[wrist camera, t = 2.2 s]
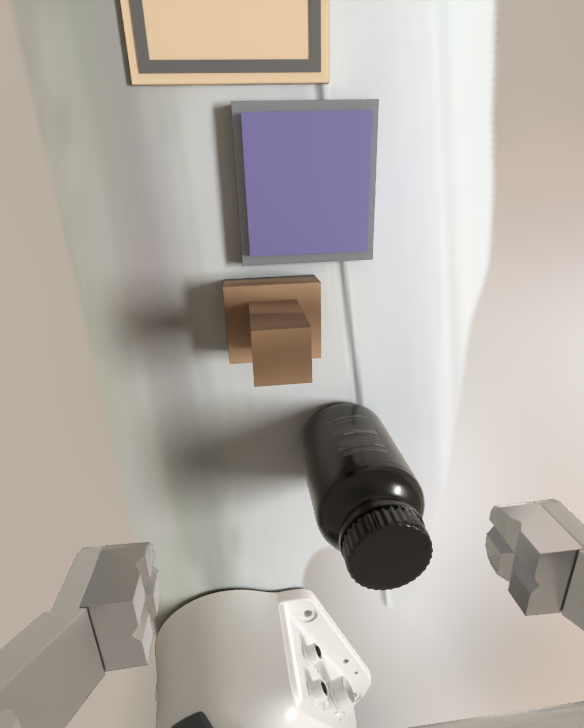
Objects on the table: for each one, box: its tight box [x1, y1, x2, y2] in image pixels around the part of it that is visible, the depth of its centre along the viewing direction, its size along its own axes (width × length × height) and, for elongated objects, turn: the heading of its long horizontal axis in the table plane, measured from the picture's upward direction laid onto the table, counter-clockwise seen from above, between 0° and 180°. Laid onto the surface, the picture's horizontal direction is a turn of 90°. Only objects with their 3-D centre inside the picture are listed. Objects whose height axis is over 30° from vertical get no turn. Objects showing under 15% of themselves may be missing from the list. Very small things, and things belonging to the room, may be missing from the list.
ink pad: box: [231, 99, 379, 266], centre depth 26 cm, size 9×8×2 cm
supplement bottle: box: [300, 403, 433, 590], centre depth 29 cm, size 7×7×12 cm
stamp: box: [223, 275, 321, 387], centre depth 26 cm, size 5×6×9 cm
